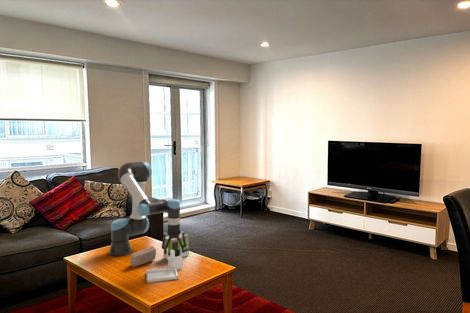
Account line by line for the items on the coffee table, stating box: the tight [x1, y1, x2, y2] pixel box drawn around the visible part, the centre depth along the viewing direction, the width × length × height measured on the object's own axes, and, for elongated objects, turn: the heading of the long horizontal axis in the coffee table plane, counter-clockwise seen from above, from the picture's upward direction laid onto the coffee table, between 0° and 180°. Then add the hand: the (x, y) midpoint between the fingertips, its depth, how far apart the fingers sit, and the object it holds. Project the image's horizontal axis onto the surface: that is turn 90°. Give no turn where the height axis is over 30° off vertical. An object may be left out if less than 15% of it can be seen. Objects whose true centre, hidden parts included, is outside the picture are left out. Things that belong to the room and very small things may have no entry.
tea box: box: [163, 233, 190, 260], centre depth 237 cm, size 15×10×15 cm, turn 141°
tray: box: [145, 267, 179, 284], centre depth 206 cm, size 14×18×2 cm
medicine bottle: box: [167, 249, 184, 271], centre depth 218 cm, size 7×7×12 cm
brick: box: [130, 245, 157, 268], centre depth 225 cm, size 16×8×5 cm
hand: (174, 258), depth 220 cm, fingers open, 8 cm apart
